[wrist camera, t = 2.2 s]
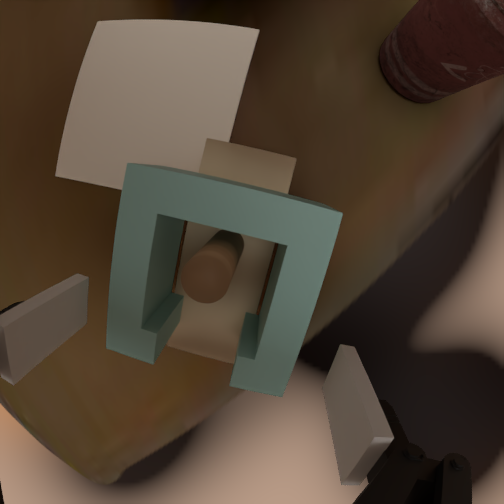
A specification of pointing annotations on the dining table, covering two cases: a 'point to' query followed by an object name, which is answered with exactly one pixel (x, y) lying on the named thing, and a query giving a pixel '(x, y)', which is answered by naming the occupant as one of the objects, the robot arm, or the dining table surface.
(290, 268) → the c link
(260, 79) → the dining table surface
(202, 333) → the hook stand
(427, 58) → the can
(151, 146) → the felt mat
